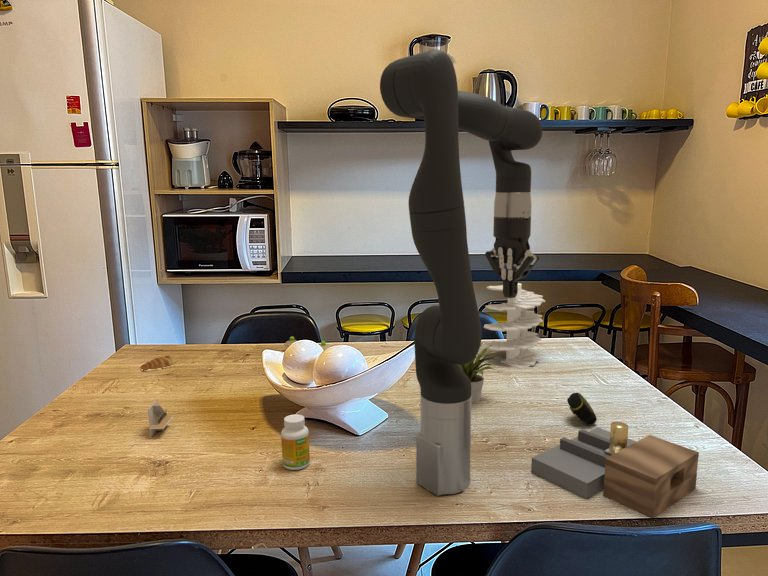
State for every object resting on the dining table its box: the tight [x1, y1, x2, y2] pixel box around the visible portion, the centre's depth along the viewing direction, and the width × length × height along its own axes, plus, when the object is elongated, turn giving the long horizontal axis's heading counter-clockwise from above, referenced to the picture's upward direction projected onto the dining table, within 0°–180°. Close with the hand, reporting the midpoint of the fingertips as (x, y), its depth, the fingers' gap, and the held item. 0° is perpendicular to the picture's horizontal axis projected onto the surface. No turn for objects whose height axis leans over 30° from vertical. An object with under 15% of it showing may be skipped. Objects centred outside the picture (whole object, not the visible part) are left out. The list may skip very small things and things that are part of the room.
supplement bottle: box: [280, 413, 311, 471], centre depth 111 cm, size 5×5×10 cm
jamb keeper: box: [602, 434, 700, 519], centre depth 99 cm, size 15×9×7 cm, turn 127°
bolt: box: [604, 421, 674, 479], centre depth 101 cm, size 4×11×7 cm, turn 37°
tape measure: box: [567, 392, 598, 425], centre depth 129 cm, size 7×7×4 cm
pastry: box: [140, 354, 175, 370], centre depth 169 cm, size 9×7×4 cm
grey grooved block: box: [530, 427, 637, 500], centre depth 109 cm, size 22×12×5 cm, turn 127°
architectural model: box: [147, 399, 174, 438], centre depth 125 cm, size 3×7×7 cm, turn 3°
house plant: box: [458, 340, 498, 405], centre depth 141 cm, size 14×14×16 cm
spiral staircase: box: [481, 282, 546, 370], centre depth 172 cm, size 18×18×25 cm
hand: (510, 297), depth 118 cm, fingers closed
